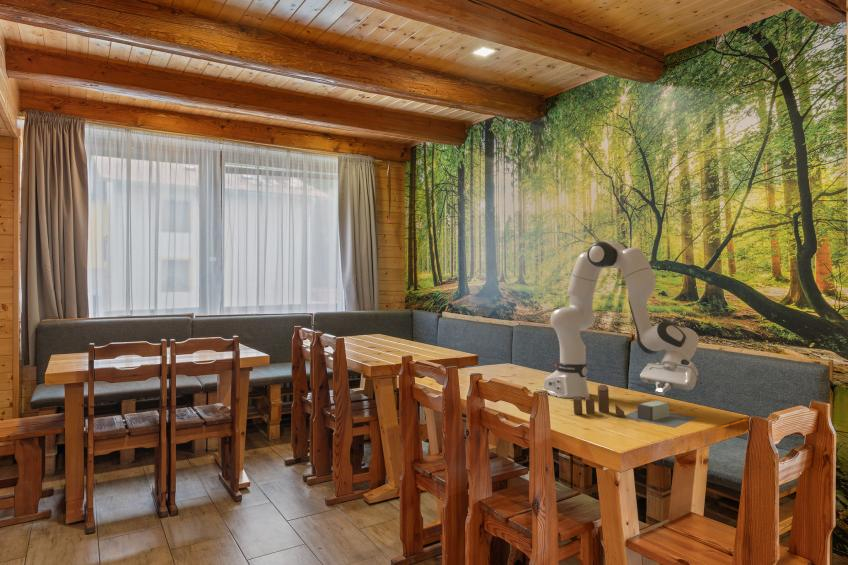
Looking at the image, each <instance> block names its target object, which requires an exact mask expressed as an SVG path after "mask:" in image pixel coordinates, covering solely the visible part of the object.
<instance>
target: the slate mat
mask: <svg viewBox="0 0 848 565" xmlns="http://www.w3.org/2000/svg"><path fill="white" fill-rule="evenodd" d="M619 418H624V419H629V420H633V421H639V422H644V423H650V424H654V425H659V426H664V427H668V428H678V427H680V426H681V425H684V424H686V423H688V422H691V421H693V420H696V419H697V418H698V417H697V416H696V417H695V416H692V415H691V416H690V415H684V414H680V413H679V414H678V413H673V412H669V416H668V417H664V418H660V419H656V420H652V421H647V420H643V419H639V418H638V409H637V410H634V411H632V412H630V413H626V414H625V416H619Z"/></svg>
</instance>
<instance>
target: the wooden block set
mask: <svg viewBox="0 0 848 565" xmlns="http://www.w3.org/2000/svg"><path fill="white" fill-rule="evenodd" d="M609 398H610V396H609V386H607V385H605V384H600V385H598V386H597V405H598V406H597V408H598V412H599V413H601V414H608V413H609V412H610V399H609ZM584 399H585V412H586V414H587V415H593V414H594V415H595V413H596V411H595V410H596V409H595V406H596V405H595V399H594V398H593V397H592V396H585V397H584ZM572 400H573V401H572V402H573V403H572V404H573V413H574V415H583V399H582V397H581V396H573V398H572ZM614 409H615V416H616V417H619V418H620V416H625V415H626V414H625V410H623V409H621V407H620V406H618V404H616V403H615V408H614Z"/></svg>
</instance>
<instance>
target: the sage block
mask: <svg viewBox="0 0 848 565" xmlns="http://www.w3.org/2000/svg"><path fill="white" fill-rule="evenodd" d="M637 410H638V418H639V419H643V420H647V421H652V420H656V419H660V418H664V417H668V416H669V413H670V402H667V401H662V400H657V399H656V400H651V401H647V402H643V403H637Z"/></svg>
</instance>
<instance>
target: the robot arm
mask: <svg viewBox="0 0 848 565" xmlns="http://www.w3.org/2000/svg"><path fill="white" fill-rule="evenodd" d="M604 268H605V269H611V268H614V269H615V268H618V269H619V270H620V271H621V274H622V276H623V278H624V282H625V284H626V288H627V294H628V297H627V299H628V300H627V301H628V305H629V309H630V313H631V315H632V320H633V323H634V327H635V331H636V341H637V345H638V347H639V349H641V350H642V351H643V352H644V353H646V354H648V355H655V354H658V353H659V352H661V351H662V350H665V354H664V356H663V357H662V360H661V362H656V361H652V362H649V363H647V364H646V366H645V367H644V368H643V369H642V371H641V372H640V374H639V378H640V380H641V381H642V382H643V383H645V384H649V385H655V390H654V393H655V394H656V395H661V396H665V393H667V392H668V391H670V390H671V389H672V388H674V389H679V390H685V391H691V390H693V389H694V387H695V386H696V383H697V380H698V378H697V377H698V376H699V371H698V369H697V367H696V365H695V364H694V362H692V360H691V359H692V358H693V357H694V355H695V353H696V350H697V348H698V345H699V335H698V334H697V332H696V331H695V330H693V329H691V328H689V327H683V326H682V327H681V326H677V325H676V324H675V323H674V322H671V321H670V320H669V321H667V320H663V321H661V322H659V323H657V324H654V325H652V323H651V319H650V316H649V312H648V308H647V306H648V301H649V299H650V296H651V295H652V293H653V292H654V290H655V288H656V285H657V280H656V276H655V273H654V271H653V268H652V266H651V264H650V263H649V260H648V259H647V257H646V255H645V254H644V253H643V251H642V250H641V249H640V248H638V247H633V246H632V247H628V246H627V245H626V244H624V243H621V242H616V241H610V240H609V241H603V240H602V241H597V242H594V243H592V244H591V245H590V246H589V247H588V249H587V251H585V252H581V253H580V254H579V255H578V257H577V260H576V261H575V264H574V266H573V270H572V273H571V275H570V280H569V283H568V287H567V294H568V295H569V305H568V306H565V307H564V306H562V307H560V308H557V309H555V310H553V312H552V313H551V315H550V319H549V322H550V326H551V327H552V328H553V330H554V331H555V333H556V335H557V339H558V344H559V362H557V363H555V364H554V367H556V369H555V371H553V372H552V373H551V374H549V375H548V376H546V377H545V378H544V381H543V387H540V388H538V390H547V391H548V392H549V394H550V395H549V396H552V397H556V396H557V398H560V397H561V398H562V399H564V398H566V399H567V398H568V399H569V398H570V399H571V398H572V399H573V396H581V397H582V398H585V396H590V392H589V389H588V381H587V374H588V364H587V347H586V344H585V343H584V341H583V339H582V336H581V331H585V330H587V329H589V328H591V327H592V326H593V325H594V324H595V321H596V314H595V313H594V310H593V304H594V303H593V300H594V294H595V291H596V287H597V283H598V279H599V275H600V272H601V271H602V269H604ZM590 397H591V396H590ZM561 398H560V399H561Z"/></svg>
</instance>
